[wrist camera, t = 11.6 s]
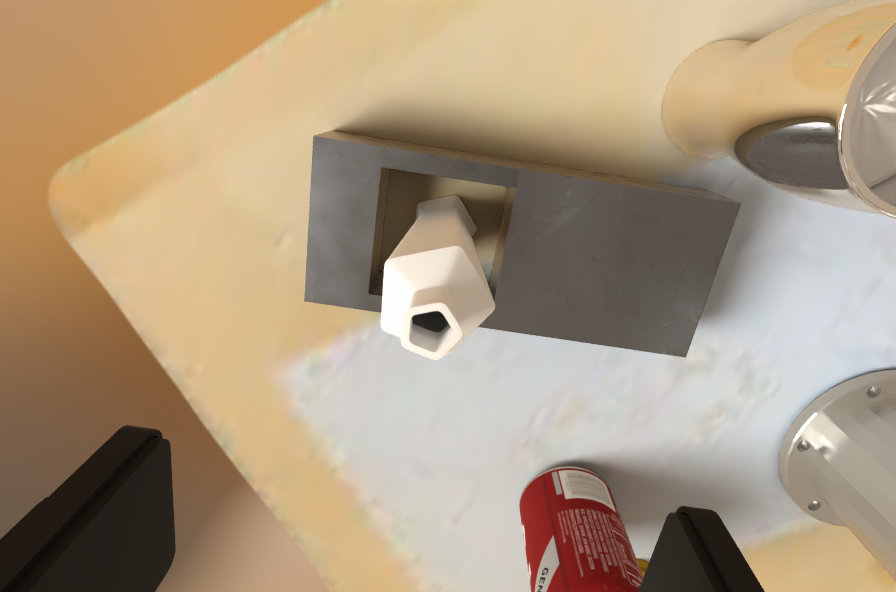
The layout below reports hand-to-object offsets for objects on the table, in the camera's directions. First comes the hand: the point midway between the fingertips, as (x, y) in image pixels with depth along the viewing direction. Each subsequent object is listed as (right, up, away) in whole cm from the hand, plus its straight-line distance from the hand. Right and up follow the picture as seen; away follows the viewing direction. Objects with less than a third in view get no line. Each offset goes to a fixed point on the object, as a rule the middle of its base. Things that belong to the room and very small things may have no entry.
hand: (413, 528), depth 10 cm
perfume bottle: (+1, +9, +22) cm, 24 cm away
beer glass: (+16, +15, +19) cm, 29 cm away
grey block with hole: (+4, +8, +22) cm, 24 cm away
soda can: (+9, -11, +29) cm, 33 cm away
